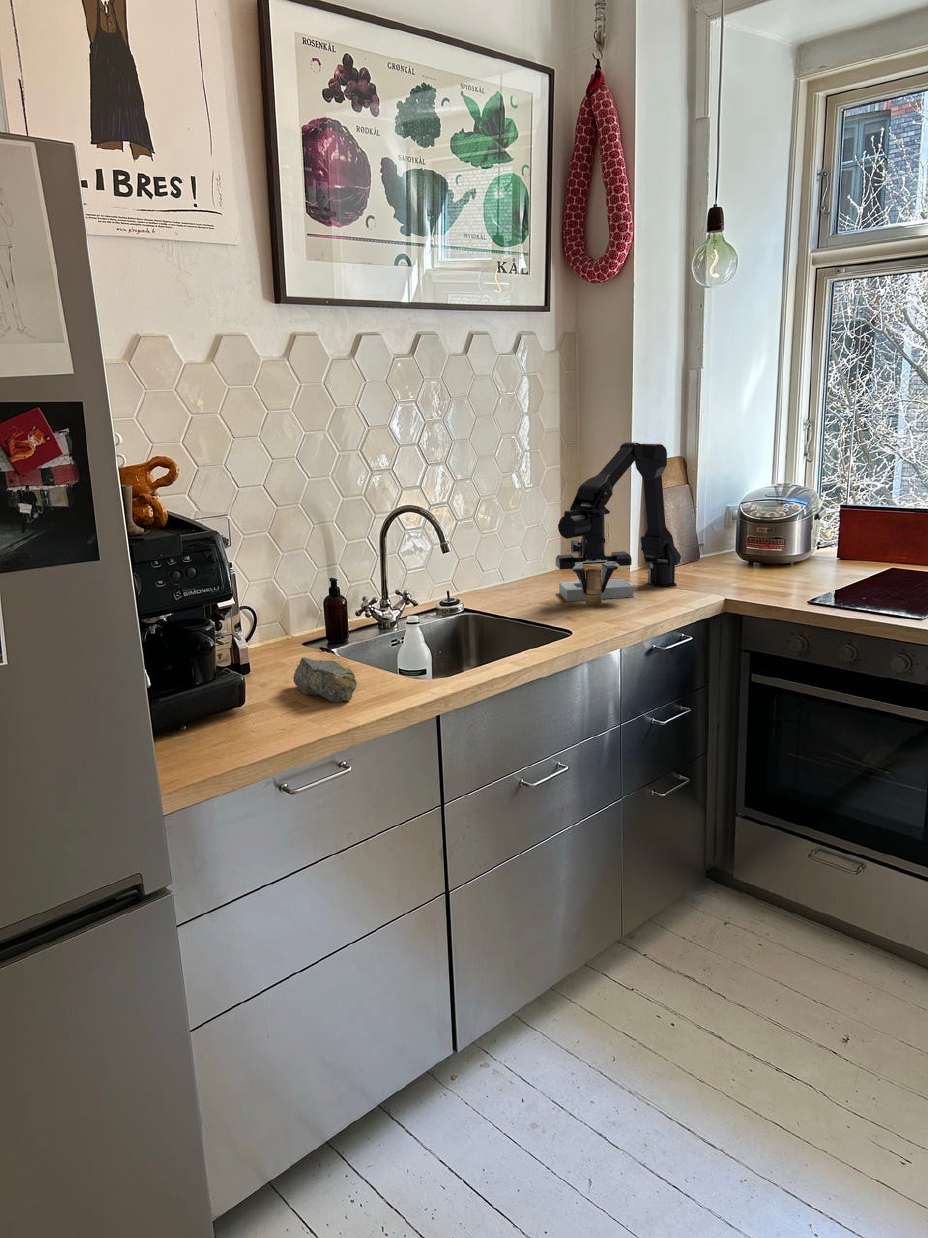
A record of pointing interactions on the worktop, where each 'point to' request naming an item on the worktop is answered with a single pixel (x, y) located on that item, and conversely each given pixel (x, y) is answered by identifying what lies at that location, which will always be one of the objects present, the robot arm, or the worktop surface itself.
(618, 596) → the board
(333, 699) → the rock
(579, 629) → the worktop surface
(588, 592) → the peg
